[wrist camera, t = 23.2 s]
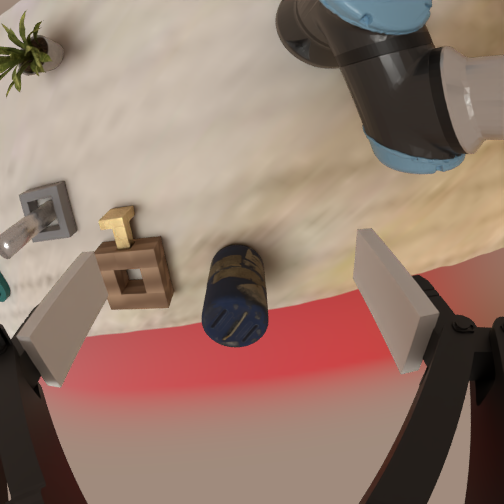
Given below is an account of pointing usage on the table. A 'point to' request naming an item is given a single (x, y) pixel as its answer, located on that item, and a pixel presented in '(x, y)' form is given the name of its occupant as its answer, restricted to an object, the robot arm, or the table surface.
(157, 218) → the table surface
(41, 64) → the house plant
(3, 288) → the bracket
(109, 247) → the socket block
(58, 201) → the grey square frame
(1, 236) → the grey rounded rod
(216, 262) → the canister
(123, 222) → the yellow t-shaped block
